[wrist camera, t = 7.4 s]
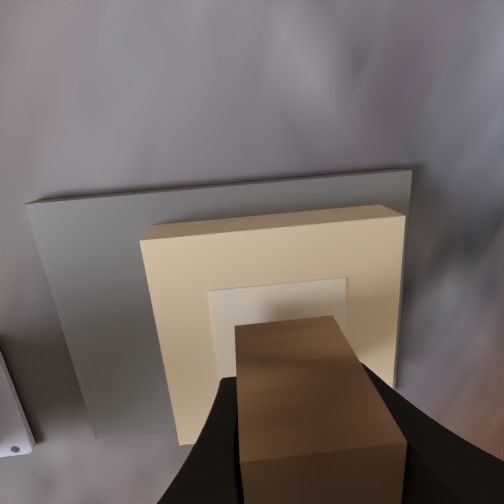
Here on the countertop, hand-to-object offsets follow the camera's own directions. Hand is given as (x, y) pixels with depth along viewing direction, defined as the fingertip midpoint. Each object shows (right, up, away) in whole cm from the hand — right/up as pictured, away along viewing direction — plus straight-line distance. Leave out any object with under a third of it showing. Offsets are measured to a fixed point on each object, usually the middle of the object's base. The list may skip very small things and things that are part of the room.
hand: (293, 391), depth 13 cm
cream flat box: (-2, +2, +6) cm, 7 cm away
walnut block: (0, +1, +2) cm, 2 cm away
